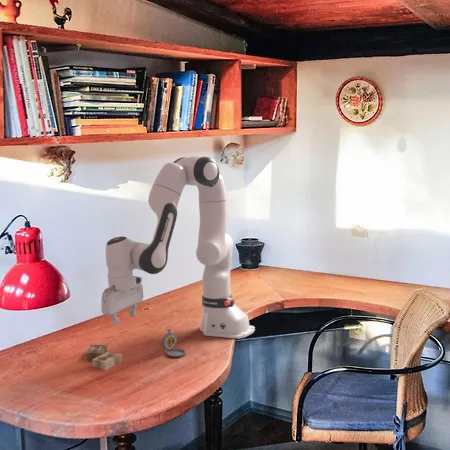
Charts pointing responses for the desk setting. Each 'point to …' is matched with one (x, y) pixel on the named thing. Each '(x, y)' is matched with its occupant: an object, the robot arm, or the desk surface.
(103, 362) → the wooden letter t block
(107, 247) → the robot arm
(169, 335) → the pocket watch
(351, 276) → the desk surface
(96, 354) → the wooden letter h block
